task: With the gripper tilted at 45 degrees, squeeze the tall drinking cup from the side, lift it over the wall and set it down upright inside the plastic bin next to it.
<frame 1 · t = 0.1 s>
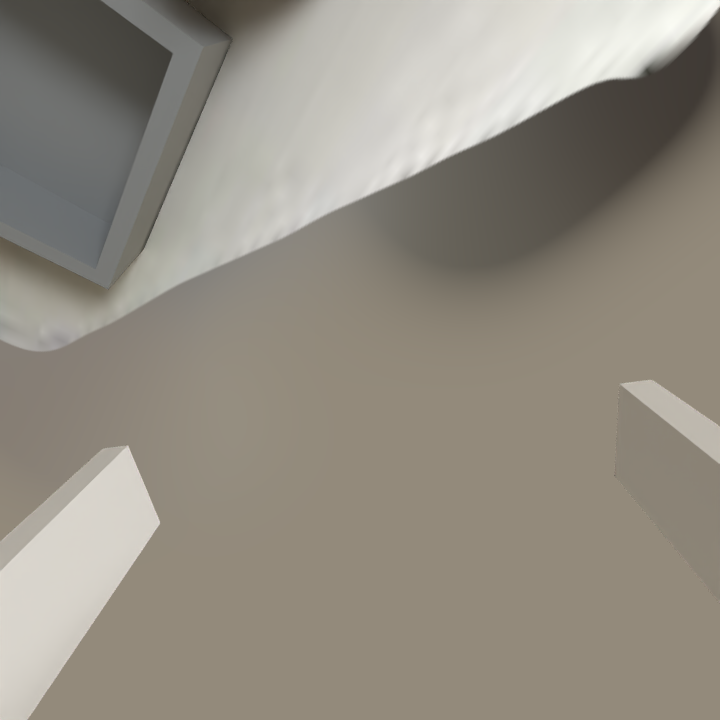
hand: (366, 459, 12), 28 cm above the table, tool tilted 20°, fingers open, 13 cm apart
bin: (54, 76, 29), on the table
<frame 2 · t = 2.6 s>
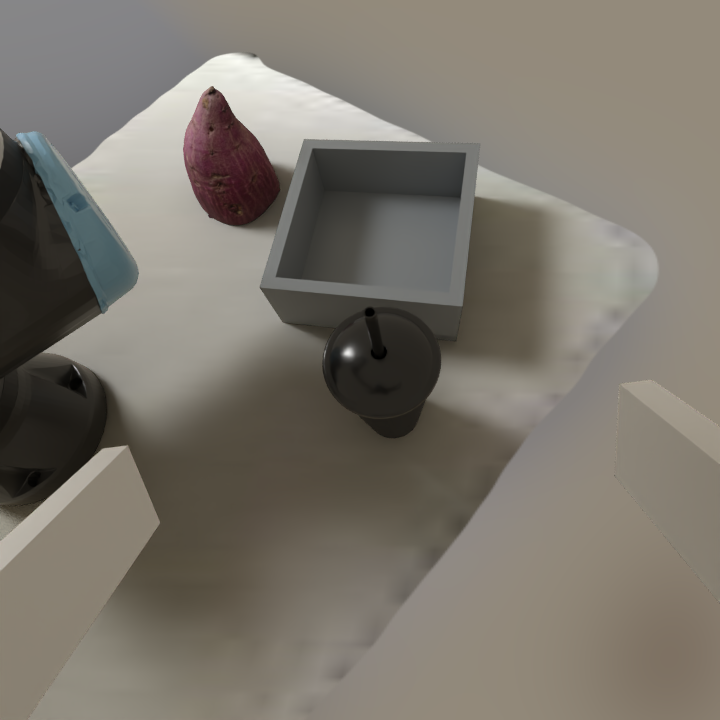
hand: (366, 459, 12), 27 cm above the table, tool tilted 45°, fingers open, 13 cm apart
bin: (380, 257, 46), on the table
drinking cup: (393, 413, 40), on the table
vegetable: (240, 192, 53), on the table
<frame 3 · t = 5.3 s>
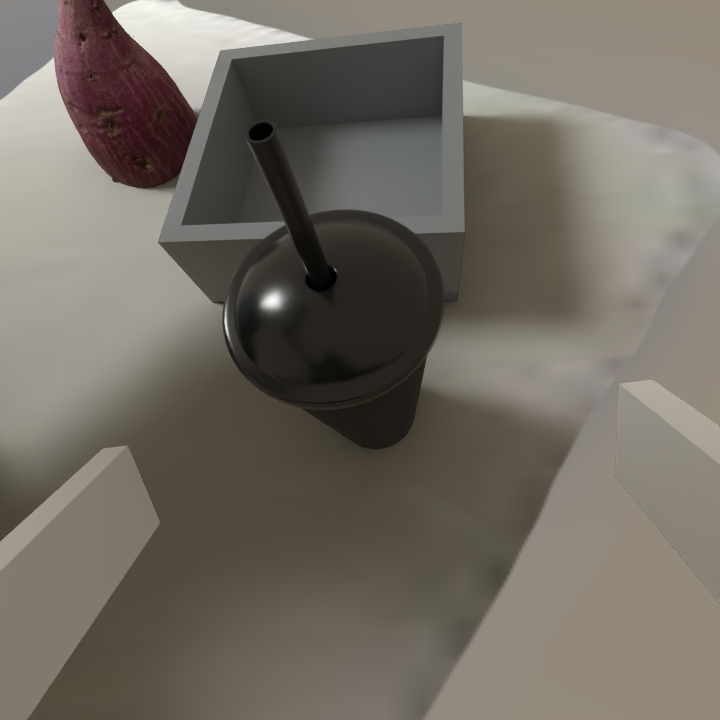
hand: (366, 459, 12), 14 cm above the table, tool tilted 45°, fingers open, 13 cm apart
bin: (340, 203, 34), on the table
drinking cup: (376, 412, 27), on the table
vegetable: (154, 149, 40), on the table
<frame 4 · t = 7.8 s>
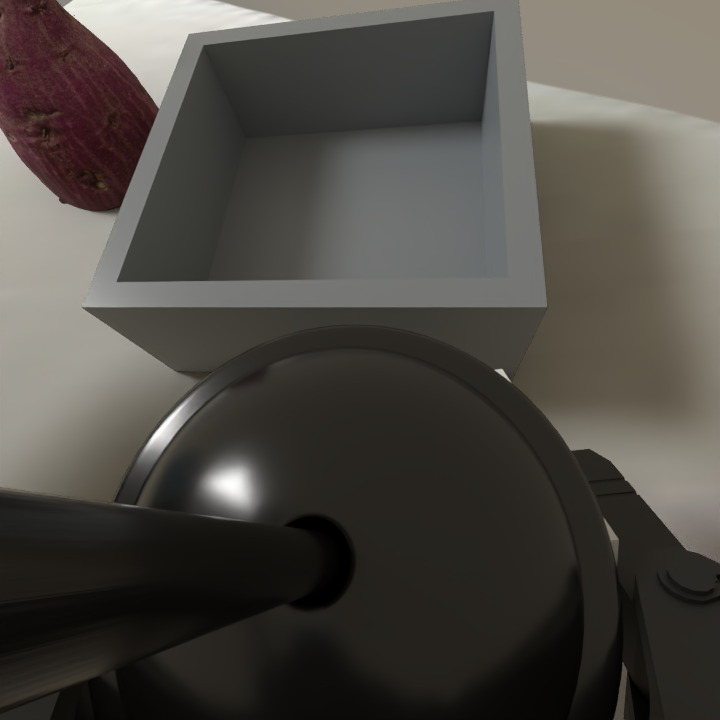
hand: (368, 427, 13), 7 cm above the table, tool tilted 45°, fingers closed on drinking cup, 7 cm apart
bin: (348, 236, 26), on the table
drinking cup: (400, 550, 19), on the table, touching gripper
vegetable: (115, 161, 32), on the table
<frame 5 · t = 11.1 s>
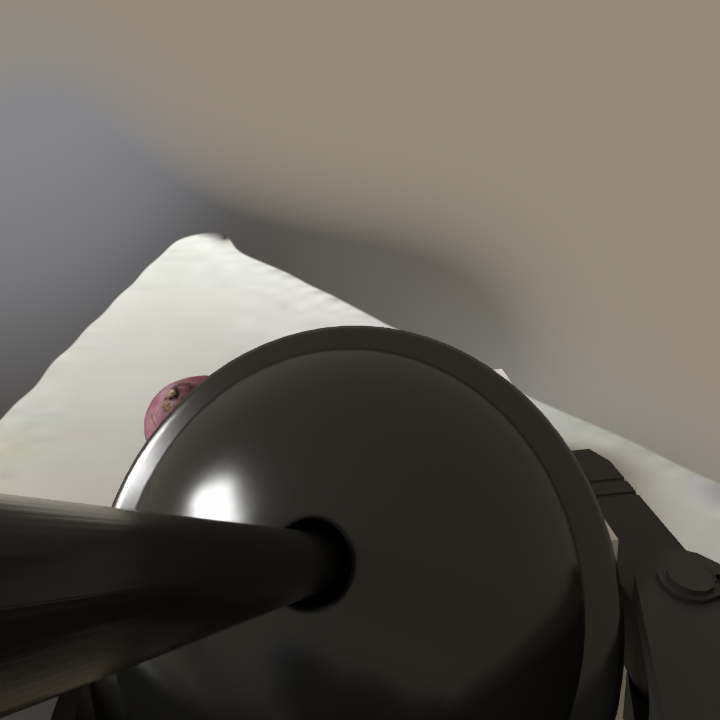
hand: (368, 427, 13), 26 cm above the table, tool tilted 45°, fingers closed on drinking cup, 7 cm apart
drinking cup: (401, 551, 19), point 19 cm above the table, touching gripper
vegetable: (222, 437, 42), on the table
when the fingers open (10 cm above the table, at t = 14.7 s): drinking cup drops 1 cm, resting on bin.
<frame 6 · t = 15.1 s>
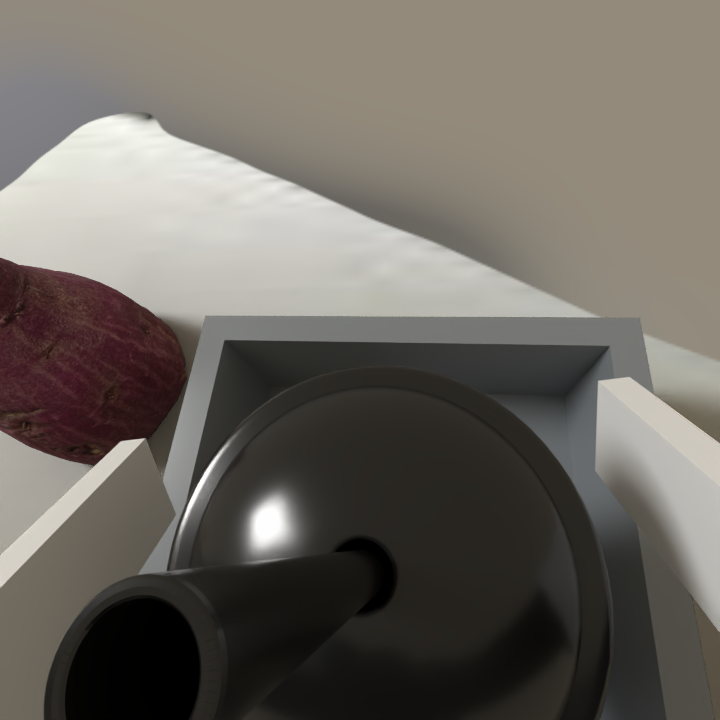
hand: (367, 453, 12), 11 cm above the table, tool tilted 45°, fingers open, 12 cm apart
bin: (402, 549, 21), on the table
drinking cup: (410, 552, 20), point 1 cm above the table, touching bin
vegetable: (113, 384, 27), on the table
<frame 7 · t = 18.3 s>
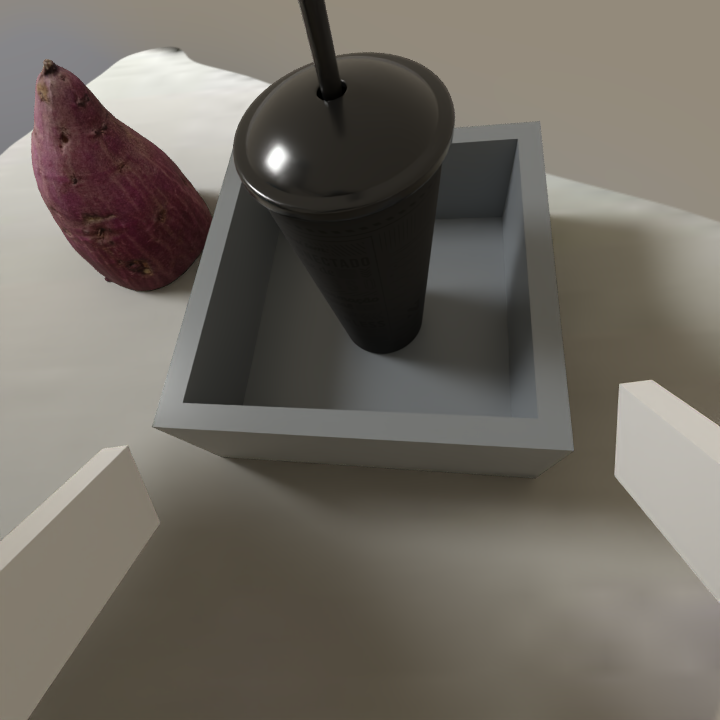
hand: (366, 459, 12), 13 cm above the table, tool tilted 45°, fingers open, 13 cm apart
bin: (379, 326, 28), on the table
drinking cup: (384, 321, 27), point 1 cm above the table, touching bin
vegetable: (155, 239, 35), on the table
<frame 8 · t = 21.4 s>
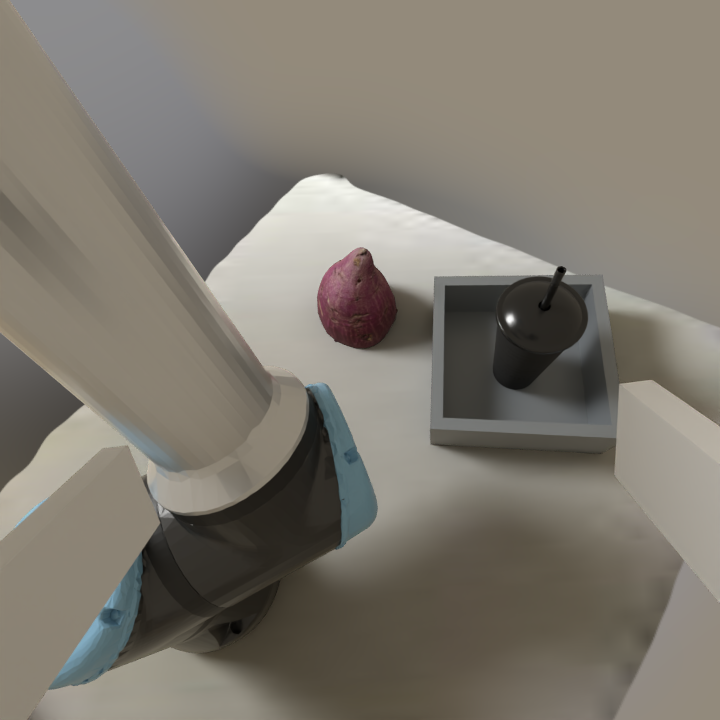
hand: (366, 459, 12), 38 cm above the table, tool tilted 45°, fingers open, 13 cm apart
bin: (509, 373, 51), on the table
drinking cup: (513, 371, 50), point 1 cm above the table, touching bin
vegetable: (358, 314, 57), on the table
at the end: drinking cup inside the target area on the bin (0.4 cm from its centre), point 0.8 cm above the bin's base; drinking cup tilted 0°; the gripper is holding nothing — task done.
